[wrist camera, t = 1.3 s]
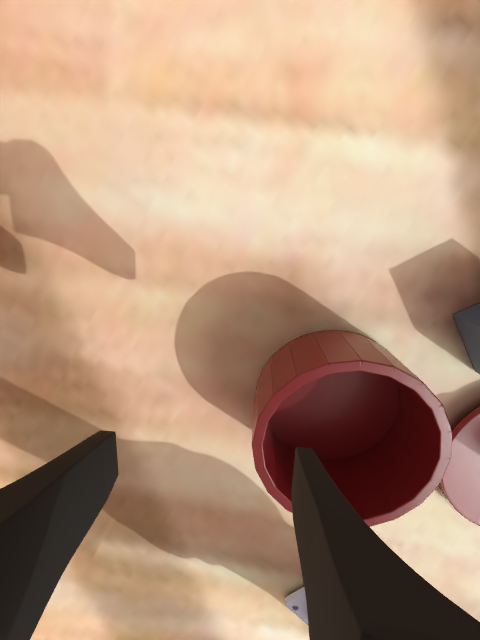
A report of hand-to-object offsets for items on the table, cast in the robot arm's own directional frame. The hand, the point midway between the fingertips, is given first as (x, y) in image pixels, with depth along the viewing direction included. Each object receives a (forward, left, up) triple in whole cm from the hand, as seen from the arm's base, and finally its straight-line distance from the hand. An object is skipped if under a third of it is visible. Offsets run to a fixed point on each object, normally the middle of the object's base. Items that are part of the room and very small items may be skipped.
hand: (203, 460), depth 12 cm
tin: (-7, -3, -10) cm, 12 cm away
